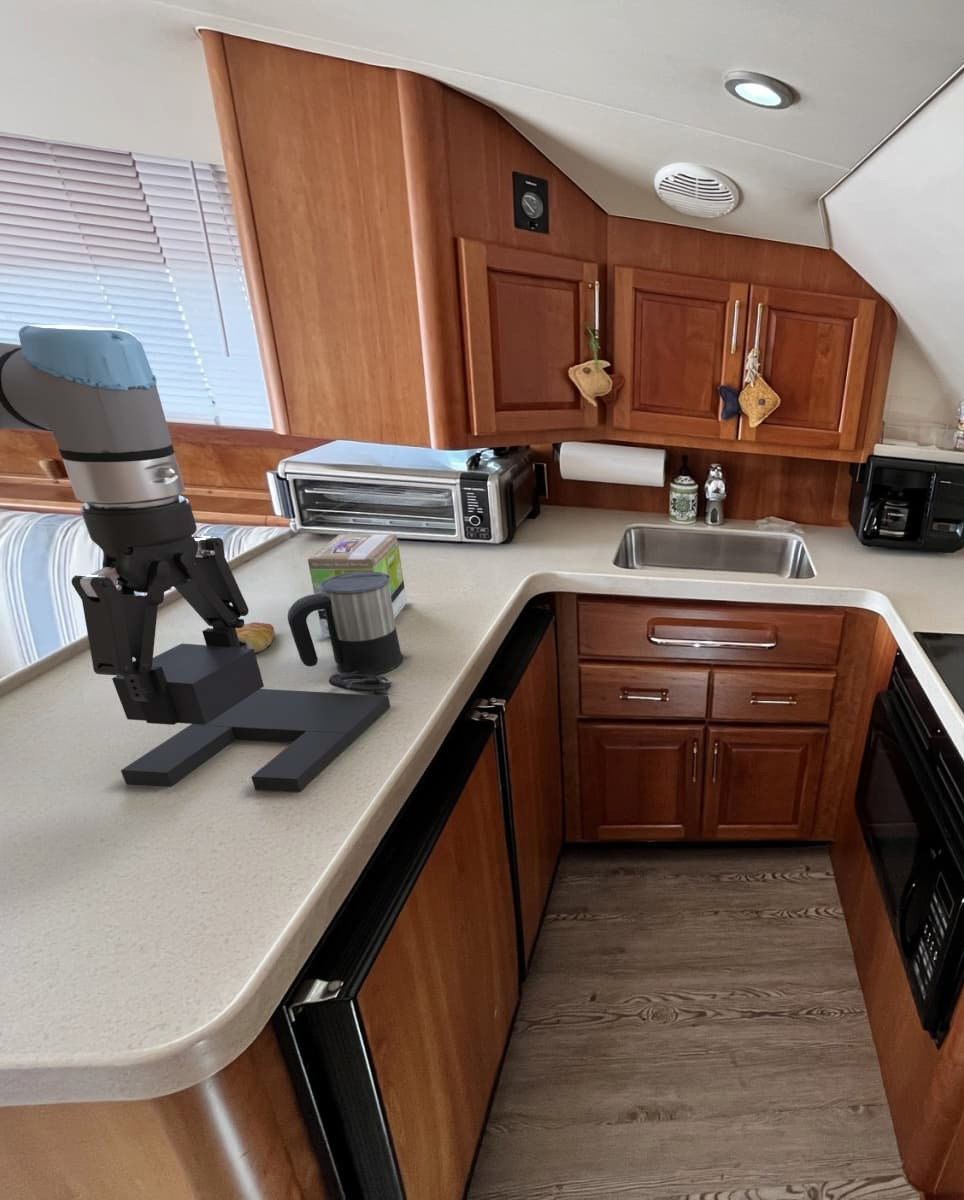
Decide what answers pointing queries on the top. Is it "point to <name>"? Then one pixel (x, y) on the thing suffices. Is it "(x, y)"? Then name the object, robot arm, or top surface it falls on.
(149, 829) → the top surface
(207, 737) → the dark notched slab
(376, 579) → the milk frother
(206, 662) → the black block
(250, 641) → the pastry
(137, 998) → the top surface
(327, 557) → the tea box
